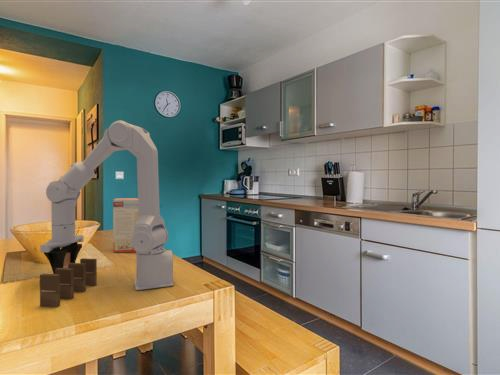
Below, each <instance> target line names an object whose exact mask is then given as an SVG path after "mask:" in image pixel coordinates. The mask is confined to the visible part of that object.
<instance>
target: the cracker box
mask: <svg viewBox="0 0 500 375" xmlns="http://www.w3.org/2000/svg"><path fill="white" fill-rule="evenodd" d="M112 200H113V201H112V202H113V203H112V204H113V206H112V213H113V214H112V217H113V218H112V223H113V224H112V229H113V230H112V233H113V234H112V246H113V248H112V251H113V252H112V253H132V254H133V253H134V254H136V251H135V250H134V248H133V247H132V244H131V238H132V235H133V233H134V225H135V223H136V221H137V219H138V217H139V211H138V197H137V198H134V197H132V198H131V197H130V198H129V197H126V198H125V197H124V198H123V197H121V198H119V197H117V198H114V199H112Z"/></svg>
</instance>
